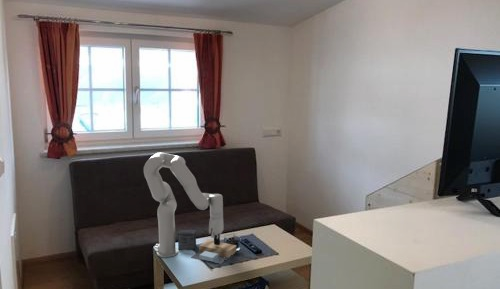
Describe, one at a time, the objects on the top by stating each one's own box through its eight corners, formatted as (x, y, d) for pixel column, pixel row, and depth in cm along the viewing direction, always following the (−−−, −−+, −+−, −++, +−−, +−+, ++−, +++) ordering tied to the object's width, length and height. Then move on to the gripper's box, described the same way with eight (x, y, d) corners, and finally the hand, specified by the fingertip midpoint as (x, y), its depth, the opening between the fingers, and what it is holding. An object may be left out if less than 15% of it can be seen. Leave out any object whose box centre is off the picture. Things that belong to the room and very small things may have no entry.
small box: (196, 245, 245) (196, 229, 243) (195, 249, 238) (195, 233, 237) (179, 245, 244) (179, 229, 243) (178, 250, 238) (177, 233, 236)
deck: (199, 251, 235) (199, 245, 235) (208, 245, 244) (207, 239, 244) (228, 258, 227) (228, 251, 226) (236, 251, 236) (236, 245, 235)
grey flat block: (205, 250, 230) (205, 254, 230) (199, 254, 224) (199, 258, 225) (218, 253, 226) (218, 257, 226) (212, 257, 221) (213, 261, 221)
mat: (190, 257, 227) (190, 257, 227) (199, 251, 235) (199, 251, 235) (220, 264, 219) (220, 263, 219) (228, 258, 227) (228, 257, 227)
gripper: (217, 210, 239) (217, 239, 242) (204, 217, 226) (204, 247, 228) (228, 212, 236) (228, 241, 238) (215, 219, 222) (215, 250, 225)
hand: (216, 244), depth 233 cm, fingers closed
